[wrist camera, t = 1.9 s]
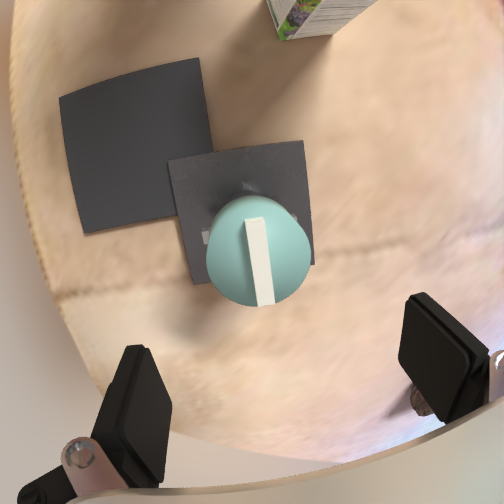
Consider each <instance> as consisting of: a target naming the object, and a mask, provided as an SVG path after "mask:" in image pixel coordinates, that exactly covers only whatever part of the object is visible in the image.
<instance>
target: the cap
mask: <svg viewBox="0 0 504 504" xmlns="http://www.w3.org/2000/svg"><path fill="white" fill-rule="evenodd" d="M310 262H311V249H310V244H309V240H308V238H307V236H306V234H305V232H304V230H303V229H302V228H301V226H300V225H299V224H298V223H297V222H296V221H295V220H294V218H293V217H292V216H291V215H290V214H289V213H288V212H287V210H286V209H285V208H284V207H283V206H281V205H280V204H279V203H277V202H276V201H274V200H272V199H270V198H267V197H263V196H253V195H252V196H244V197H240V198H238V199H235V200H233V201H231V202H229V203H228V204H226V205H225V206H224V207H223V208H222V209H221V210H220V211H219V212H218V213H217V215H216V216H215V218H214V220H213V222H212V224H211V228H210V232H209V239H208V247H207V255H206V264H207V270H208V274H209V277H210V279H211V281H212V283H213V284H214V286H215V287H216V288H217V290H218V291H219V292H220V293H221V294H223V295H224V296H225V297H227V298H228V299H230V300H231V301H233V302H236V303H238V304H241V305H245V306H253V307H260V306H267V305H272V304H275V303H277V302H280V301H282V300H284V299H285V298H287V297H289V296H290V295H291V294H292V293H294V292H295V291H296V290H297V289H298V288H299V286H300V285H301V284H302V283H303V281H304V279H305V277H306V275H307V273H308V271H309V267H310Z"/></svg>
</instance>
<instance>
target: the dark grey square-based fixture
mask: <svg viewBox="0 0 504 504" xmlns="http://www.w3.org/2000/svg"><path fill="white" fill-rule="evenodd" d="M168 165H169V171H170V176H171V181H172V187H173V192H174V197H175V202H176V207H177V212H178V217H179V222H180V227H181V231H182V236H183V240H184V245H185V249H186V254H187V258H188V263H189V267H190V271H191V275H192V280H193V284H194V285H195V284H201V283H207V282H212V281H211V279H210V277H209V274H208V270H207V264H206V255H207V247H208V239H209V232H210V228H211V224H212V222H213V220H214V218H215V216H216V215H217V213H218V212H219V211H220V210H221V209H222V208H223V207H224V206H225V205H226V204H228V203H229V202H231V201H233V200H235V199H238V198H240V197H244V196H252V195H253V196H263V197H267V198H270V199H272V200H274V201H276V202H277V203H279V204H280V205H281V206H283V207H284V208H285V209H286V210H287V212H288V213H289V214H290V215H291V216H292V217H293V218H294V220H295V221H296V222H297V223H298V224H299V225H300V226H301V228H302V229H303V230H304V232H305V234H306V236H307V238H308V240H309V244H310V249H311V262H310V265H315V261H314V247H313V233H312V221H311V210H310V199H309V189H308V179H307V170H306V161H305V152H304V144H303V140H299V141H290V142H281V143H272V144H264V145H257V146H249V147H242V148H236V149H229V150H223V151H217V152H212V153H206V154H201V155H195V156H190V157H185V158H179V159H174V160H170V161H168Z"/></svg>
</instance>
